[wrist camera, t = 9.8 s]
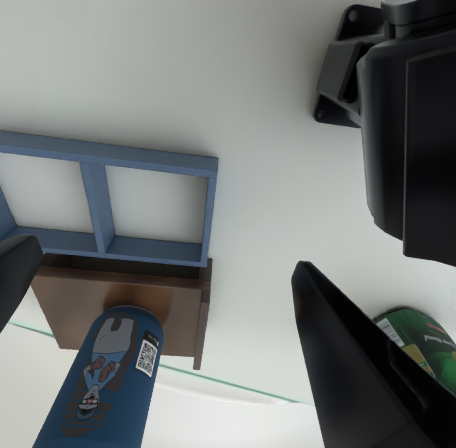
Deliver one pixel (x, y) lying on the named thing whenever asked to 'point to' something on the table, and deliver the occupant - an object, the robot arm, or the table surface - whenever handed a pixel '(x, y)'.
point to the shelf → (123, 303)
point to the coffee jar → (423, 343)
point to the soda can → (107, 384)
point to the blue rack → (100, 202)
